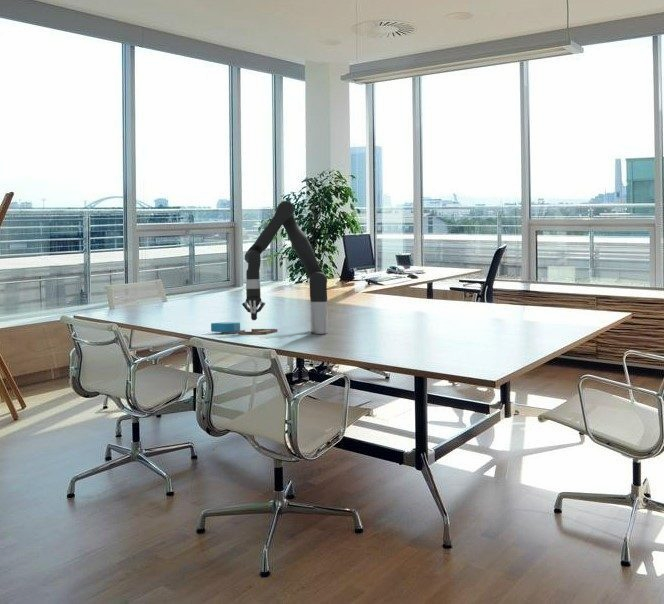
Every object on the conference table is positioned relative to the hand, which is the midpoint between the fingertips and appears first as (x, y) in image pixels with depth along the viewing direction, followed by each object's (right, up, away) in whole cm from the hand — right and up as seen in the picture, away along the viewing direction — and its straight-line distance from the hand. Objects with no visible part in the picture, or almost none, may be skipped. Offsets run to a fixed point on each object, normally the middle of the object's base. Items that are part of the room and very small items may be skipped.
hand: (254, 320), depth 392 cm
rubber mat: (-12, -7, +3) cm, 14 cm away
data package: (-20, -4, +7) cm, 22 cm away
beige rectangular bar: (+6, -8, +2) cm, 10 cm away
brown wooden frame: (+2, -7, 0) cm, 7 cm away
